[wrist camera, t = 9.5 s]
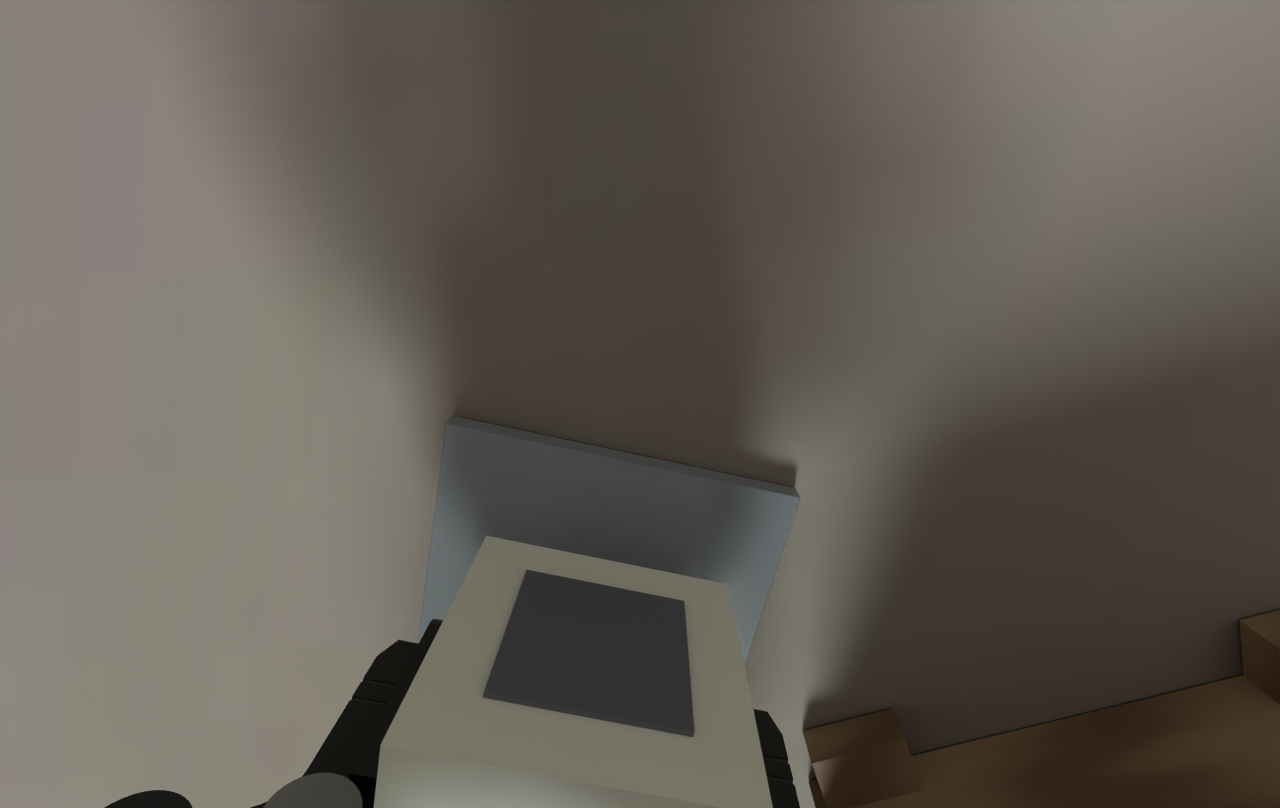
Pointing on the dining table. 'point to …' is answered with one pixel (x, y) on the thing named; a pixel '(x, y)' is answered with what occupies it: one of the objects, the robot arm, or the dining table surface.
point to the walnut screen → (1081, 752)
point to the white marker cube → (577, 693)
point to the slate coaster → (603, 514)
